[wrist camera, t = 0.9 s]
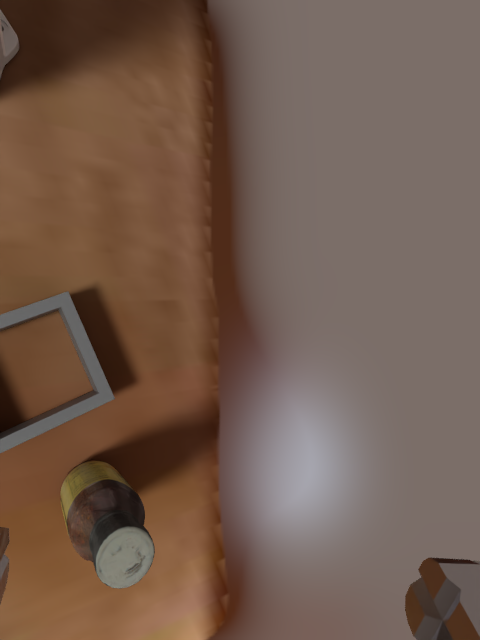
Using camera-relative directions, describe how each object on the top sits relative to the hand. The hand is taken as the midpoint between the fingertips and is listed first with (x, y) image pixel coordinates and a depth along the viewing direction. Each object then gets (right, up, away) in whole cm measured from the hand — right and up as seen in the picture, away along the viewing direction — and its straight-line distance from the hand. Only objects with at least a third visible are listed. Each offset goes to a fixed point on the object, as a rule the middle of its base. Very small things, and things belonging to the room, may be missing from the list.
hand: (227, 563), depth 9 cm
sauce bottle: (-16, -13, +39) cm, 44 cm away
